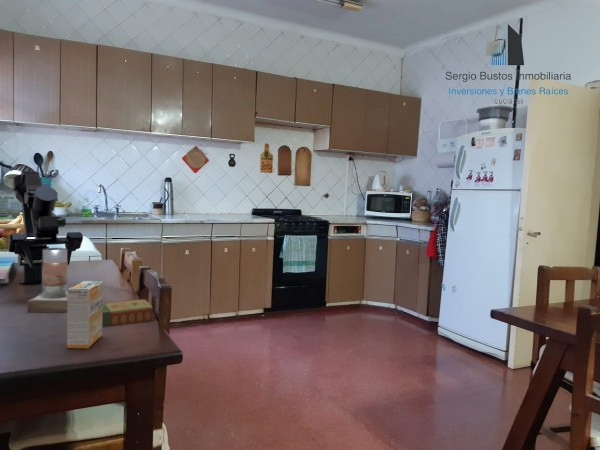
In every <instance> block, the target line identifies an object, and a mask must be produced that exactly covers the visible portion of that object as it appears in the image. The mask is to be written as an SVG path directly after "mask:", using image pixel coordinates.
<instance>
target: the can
mask: <svg viewBox="0 0 600 450" xmlns="http://www.w3.org/2000/svg"><path fill="white" fill-rule="evenodd" d="M41 261H42V283H41V286H42V287H41V289H42V290H41V293H42V297H43V298H50V299H53V298H62V297H65V296H67V292H68V265H67V249H66V248H64V247H49V248H46V249H43V250H42V260H41Z"/></svg>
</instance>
